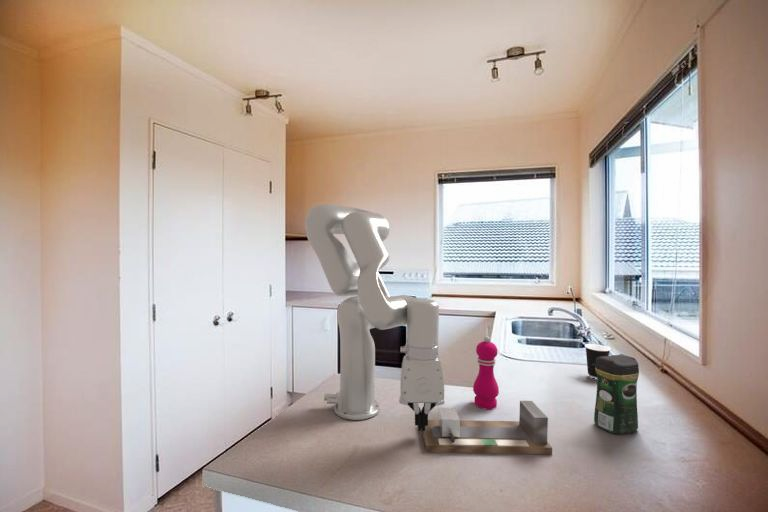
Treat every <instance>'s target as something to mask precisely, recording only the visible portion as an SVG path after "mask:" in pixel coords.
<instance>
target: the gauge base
mask: <svg viewBox="0 0 768 512" xmlns="http://www.w3.org/2000/svg"><path fill="white" fill-rule="evenodd" d="M518 417H519V421H518V420H517V421H515V420H514V421H513V420H512V421H511V420H473V419H471V420H468V419H465V420H463V419H462V420H461V419H460V437H454V443H452V442H451V439H450V437H442V434H441V431H440V428H439V424H438V422H439V419H428V426H425V431H423V430H422V427H421V432H422V438H423V442H424V448H425V453H460V452H461V453H469V454H512V453H513V455H514V454H516V455H517V454H521V455H553V447H552V445H551V444H550V443H549V441H548V426H549V423H548V422H549V417H548V416H547V415H546V414H545V413H544V412H543V411H542V410H541V409H540V408H539V407H538V406H537V404H536V403H534V401H533V400H519V416H518Z"/></svg>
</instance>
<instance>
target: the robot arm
mask: <svg viewBox="0 0 768 512" xmlns="http://www.w3.org/2000/svg"><path fill="white" fill-rule="evenodd" d="M304 226H305V233H306V237H307V240H308V242H309V244H310V246H311V247H312V249H313V250H312V251H314V253H315V255H316V257H317V259H318V260H319V264H320V266H321V268H322V270H323V273H324V275H325V277H326V278H325V279H326V280H327V283H328V285H329V287H330V289H331V291H332V292H333V293H334V294H335V295H336V296H339V297H348V298H345V299H344V300H343V301H342V302H341V303H340V304H339V305H338V308H337V312H336V317H337V324H338V328H339V330H338V331H339V338H340V371H339V373H340V375H339V376H340V377H339V378H340V382H339V387H340V389H339V392H335V393H327V392H326V393H324V397H323V400H324V401H325V402H327V403H326V404H330V405H332V404H334V407H333V408H334V409H333V410H334V413H335V414H336V415H337V416H338V417H340V418H343V419H346V420H350V421H351V420H352V421H359V420H367V419H370V418H373V417H374V416H377V414H379V412H380V408H381V407H380V402H378V401H377V400H375V387H376V385H375V384H376V383H375V381H376V379H375V378H376V375H375V373H376V370H375V369H376V368H375V367H376V346H375V341H374V337H373V336H372V335H371V332H370V331H371V329H375V328H376V329H377V330H382V331H383V330H389V329H393V328H398V327H401V326H406V343H405V345H403V346H400V353H403V354H405V355H404V356H403V358H402V362H401V370H400V382H399V383H400V385H399V386H400V387H399V389H400V390H399V392H400V394H399V398H398V403H399V404H400V405H403V406H408V407H409V408H410V409H411V410H412V411H413V412H414V426H417V431H418V432H419V431H420V432H422V430H423V431H425V426H428V420H429V414H430V412H431V411H432V410H434V408H435V407H438V406H442V405H444V404H445V376H444V375H445V374H444V365H443V361H442V360H443V359H442V357H440V356H439V331H440V330H439V328H440V327H439V326H440V325H439V322H440V318H439V317H440V314H439V313H440V309H439V307H440V306H439V304H438V302H437V301H436V300H434V299H428V298H417V297H414V296H411V295H406V294H402V295H393V296H391V295H390V293H389V292H388V288H387V287H386V285H385V283H384V281H383V279H382V276H381V274H380V272H379V270H381V269H382V268H383V267H385V266H386V265H387V263H388V262H389V261H390V254H389V252H388V251H387V248H386V246H385V244H384V241H385V240H387V238H388V236H389V234H390V224H389V222H388V219H387V218H386V217H385V216H384V215H382V214H380V213H378V212H377V213H376V212H372V211H369V210H364V209H361V208H357V207H351V206H345V205H344V206H343V205H336V204H325V203H324V204H317V205H315V206H313V207H311V208H310V209H309V210H308V211H307V214H306V217H305V223H304ZM334 234H335V235H344V237H345V239H346V241H347V243H348V245H349V247H350V249H351V251H352V254H353V257H354V258H355V260H356V262H355V261H353V260H352V258H351V257H350V255H349V253H348V250H347V248H346V246H345V245H344V244H343V243H342V242H341V241H340V239H338V238H337V237H336V236H335V235H334ZM356 295H357V296H356ZM349 296H351V297H349ZM419 404H423V406H422V407H420V405H419ZM421 427H422V428H421Z"/></svg>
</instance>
